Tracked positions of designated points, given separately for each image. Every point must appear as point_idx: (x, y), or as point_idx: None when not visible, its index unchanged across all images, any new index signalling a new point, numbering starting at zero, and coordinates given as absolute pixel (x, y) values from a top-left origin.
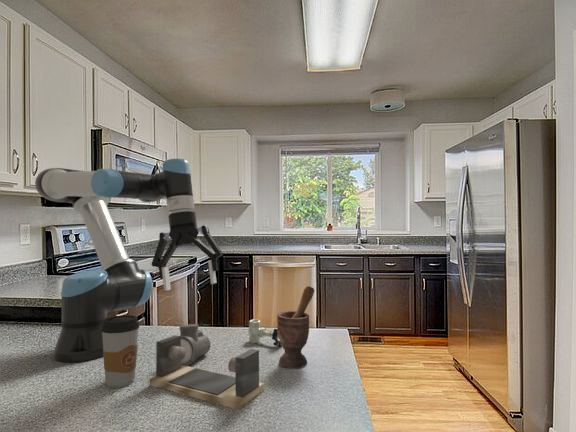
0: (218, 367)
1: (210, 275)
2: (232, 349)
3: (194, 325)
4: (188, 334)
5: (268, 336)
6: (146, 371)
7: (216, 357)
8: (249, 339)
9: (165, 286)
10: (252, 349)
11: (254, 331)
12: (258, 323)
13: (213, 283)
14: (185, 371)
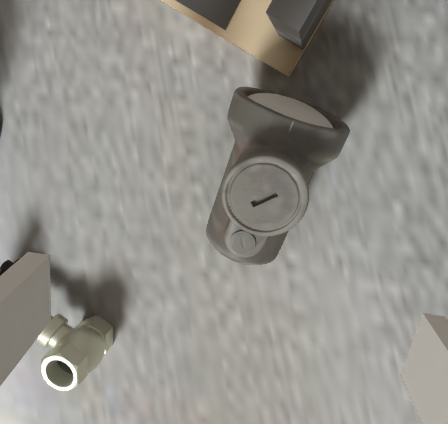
0: (170, 102)
1: (7, 289)
2: (154, 264)
3: (232, 172)
4: (261, 150)
5: None
6: (411, 74)
7: (192, 194)
8: (108, 331)
9: (445, 335)
10: None
11: (74, 333)
12: (47, 354)
13: (28, 252)
14: (256, 6)
